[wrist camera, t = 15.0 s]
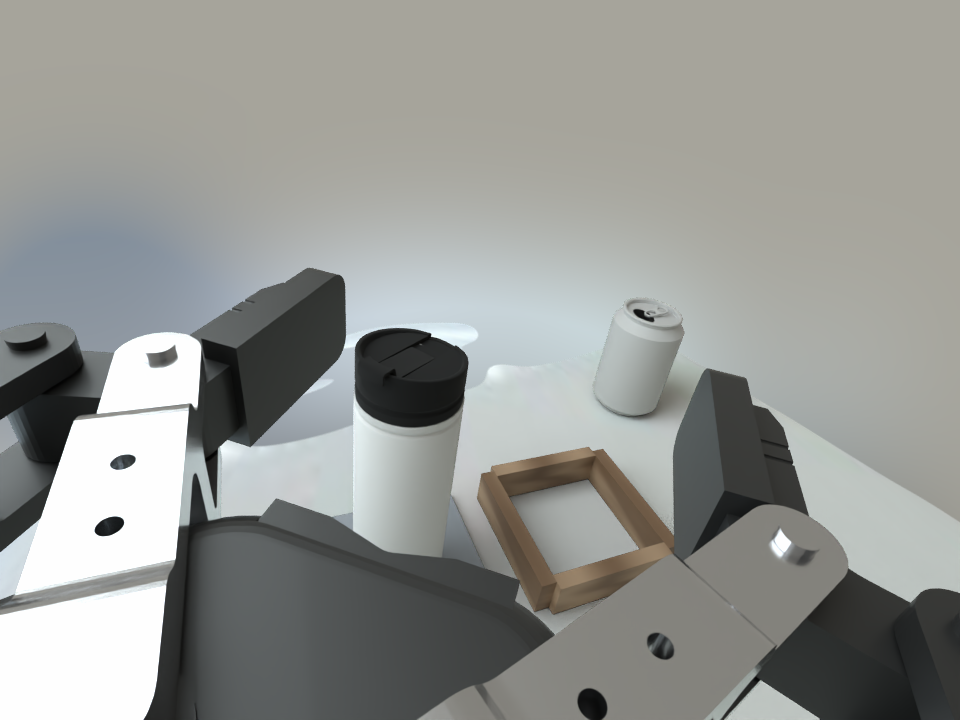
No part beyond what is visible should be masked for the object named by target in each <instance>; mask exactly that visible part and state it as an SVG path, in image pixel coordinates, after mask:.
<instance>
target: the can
mask: <svg viewBox="0 0 960 720" xmlns="http://www.w3.org/2000/svg"><path fill="white" fill-rule="evenodd" d="M682 320H683V318H682V315H681V314H680V313H679V312H678V311H677V310H676V309H675V308H673V307H672V306H670V305H668V304H665V303H663V302H660V301H657V300H654V299H649V298H632V299H629V300H627V301H625V302H624V304H623V308H621V309H619V310H617V311H616V312H615V314H614V316H613V319H612V322H611V326H610V329H609V332H608V336H607V339H606V343H605V346H604V349H603V353H602V356H601V360H600V363H599V366H598V370H597V373H596V376H595V380H594V383H593V392H594V394H595V395H596V397H597V398H598V399H599V400H600V402H601V403H602V404H603V405H604V406H605V407H606V408H607V409H609V410H611V411H613V412H615V413H618V414H620V415H625V416H639V415H643V414H646V413H650V412H652V411H653V410H654V409H655V408H656V406H657V404H658V401H659V398H660V396H661V393H662V391H663V388H664V385H665V383H666V380H667V378H668V375H669V372H670V370H671V367H672V364H673V362H674V359H675V357H676V354H677V351H678V349H679V346H680V344H681V341H682V338H683V336H684V330H683V327H682V325H681V323H682Z"/></svg>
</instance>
